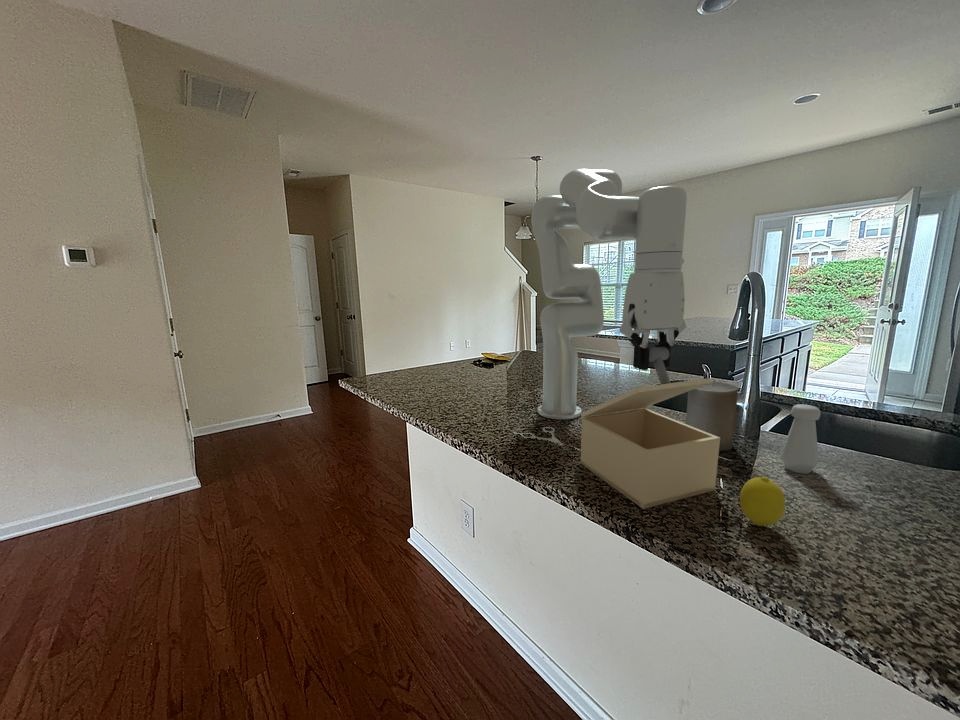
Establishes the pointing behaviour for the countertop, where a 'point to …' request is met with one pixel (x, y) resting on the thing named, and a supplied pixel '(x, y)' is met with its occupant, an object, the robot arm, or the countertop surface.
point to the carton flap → (648, 389)
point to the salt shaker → (802, 440)
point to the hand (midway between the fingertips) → (651, 366)
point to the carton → (649, 456)
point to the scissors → (544, 438)
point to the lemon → (762, 501)
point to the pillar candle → (714, 411)
